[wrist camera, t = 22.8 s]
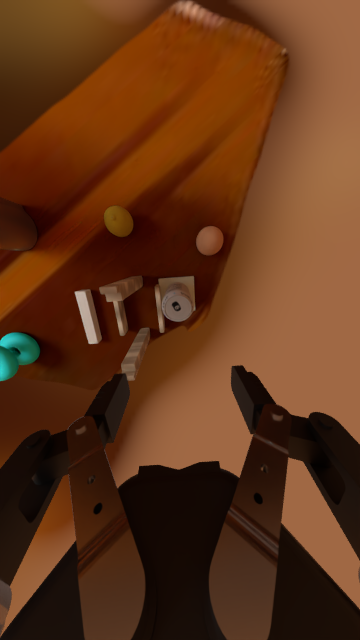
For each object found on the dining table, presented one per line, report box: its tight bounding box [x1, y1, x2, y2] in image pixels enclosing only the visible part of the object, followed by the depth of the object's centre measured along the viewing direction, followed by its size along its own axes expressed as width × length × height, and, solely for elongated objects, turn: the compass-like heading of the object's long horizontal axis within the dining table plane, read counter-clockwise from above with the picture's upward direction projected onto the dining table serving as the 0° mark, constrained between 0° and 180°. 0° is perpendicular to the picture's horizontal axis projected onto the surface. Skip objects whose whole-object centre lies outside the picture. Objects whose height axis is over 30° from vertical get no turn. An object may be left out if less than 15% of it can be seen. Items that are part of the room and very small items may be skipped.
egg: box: [196, 226, 223, 255], centre depth 36 cm, size 6×6×8 cm
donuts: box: [0, 332, 40, 381], centre depth 44 cm, size 10×10×10 cm
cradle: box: [99, 276, 165, 380], centre depth 36 cm, size 17×12×19 cm
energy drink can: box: [162, 282, 194, 322], centre depth 36 cm, size 6×6×15 cm
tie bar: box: [75, 290, 102, 344], centre depth 45 cm, size 14×2×3 cm, turn 3°
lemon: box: [104, 206, 133, 237], centre depth 35 cm, size 6×6×8 cm
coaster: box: [158, 276, 195, 310], centre depth 44 cm, size 9×9×1 cm
